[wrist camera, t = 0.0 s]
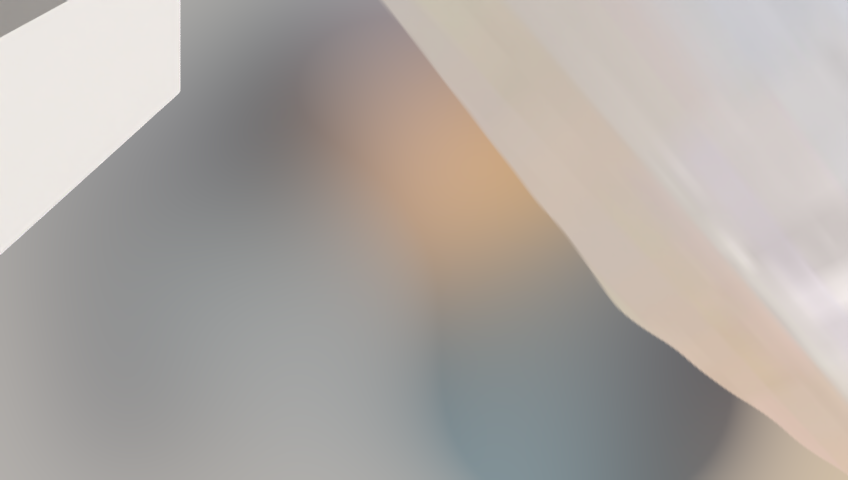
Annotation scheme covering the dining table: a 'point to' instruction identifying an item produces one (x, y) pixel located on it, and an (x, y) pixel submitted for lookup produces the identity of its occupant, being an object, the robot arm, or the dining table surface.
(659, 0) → the dining table surface
